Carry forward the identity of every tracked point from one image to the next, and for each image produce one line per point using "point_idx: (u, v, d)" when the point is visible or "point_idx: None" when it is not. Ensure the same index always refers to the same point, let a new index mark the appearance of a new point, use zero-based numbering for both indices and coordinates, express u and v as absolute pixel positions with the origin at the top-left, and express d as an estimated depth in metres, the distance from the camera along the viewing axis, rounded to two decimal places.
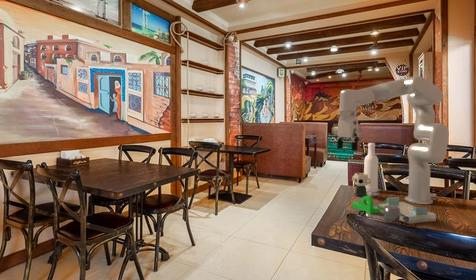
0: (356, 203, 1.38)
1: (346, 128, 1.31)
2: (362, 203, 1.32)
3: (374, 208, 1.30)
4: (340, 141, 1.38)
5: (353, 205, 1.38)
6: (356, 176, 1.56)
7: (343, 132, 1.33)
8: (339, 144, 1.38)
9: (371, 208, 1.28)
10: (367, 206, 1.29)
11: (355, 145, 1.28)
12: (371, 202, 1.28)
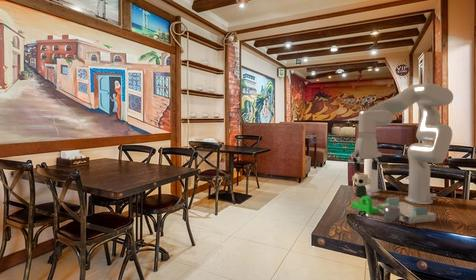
0: (356, 203, 1.38)
1: (373, 149, 1.30)
2: (361, 203, 1.32)
3: (373, 208, 1.30)
4: None
5: (353, 205, 1.38)
6: (356, 176, 1.56)
7: (369, 154, 1.30)
8: None
9: (370, 208, 1.28)
10: (366, 206, 1.29)
11: None
12: (370, 202, 1.28)
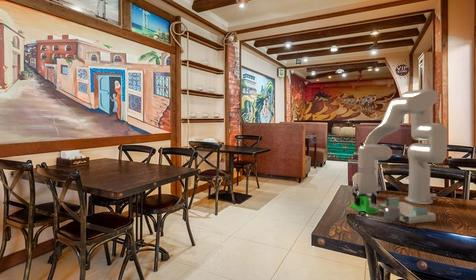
0: None
1: (372, 184, 1.32)
2: None
3: (371, 208, 1.29)
4: None
5: (352, 205, 1.38)
6: None
7: (369, 189, 1.31)
8: None
9: (367, 208, 1.28)
10: (363, 206, 1.29)
11: None
12: (367, 202, 1.27)
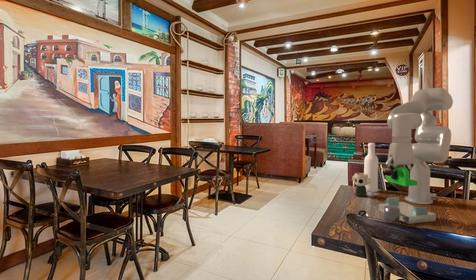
0: None
1: (408, 154, 1.23)
2: (397, 175, 1.24)
3: (411, 180, 1.21)
4: None
5: (387, 178, 1.30)
6: (356, 176, 1.56)
7: (405, 159, 1.23)
8: None
9: (406, 180, 1.19)
10: (402, 178, 1.20)
11: None
12: (407, 173, 1.19)
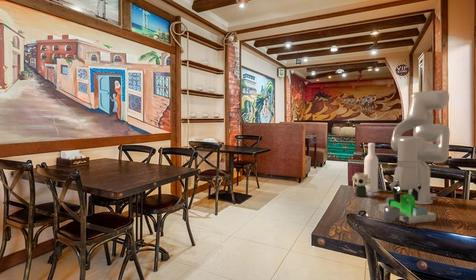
0: (395, 202, 1.29)
1: (414, 179, 1.22)
2: (402, 201, 1.23)
3: (416, 207, 1.20)
4: None
5: (392, 204, 1.29)
6: (356, 176, 1.56)
7: (410, 184, 1.22)
8: None
9: (412, 207, 1.18)
10: (408, 205, 1.20)
11: None
12: (412, 201, 1.18)
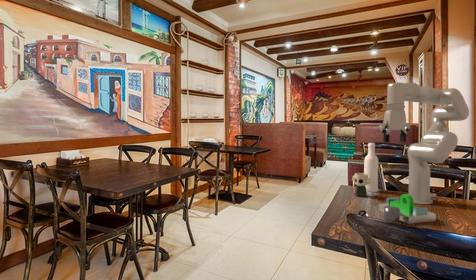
0: (395, 202, 1.29)
1: (402, 121, 1.33)
2: (401, 201, 1.23)
3: None
4: None
5: (391, 204, 1.29)
6: (356, 176, 1.56)
7: (398, 125, 1.33)
8: None
9: (410, 207, 1.18)
10: (406, 205, 1.20)
11: None
12: (411, 201, 1.18)
